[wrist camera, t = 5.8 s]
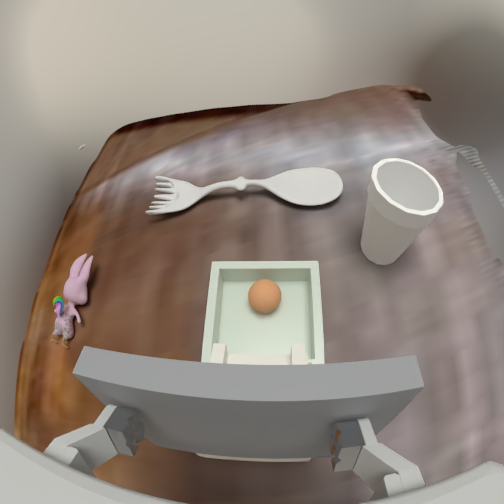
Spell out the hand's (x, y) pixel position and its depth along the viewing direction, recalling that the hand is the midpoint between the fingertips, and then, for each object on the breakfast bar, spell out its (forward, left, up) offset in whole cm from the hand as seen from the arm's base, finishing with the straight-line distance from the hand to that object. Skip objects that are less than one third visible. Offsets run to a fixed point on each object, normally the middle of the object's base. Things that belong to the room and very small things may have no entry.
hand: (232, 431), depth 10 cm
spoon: (+3, -34, -22) cm, 41 cm away
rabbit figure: (+28, -13, -22) cm, 38 cm away
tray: (0, -12, -21) cm, 25 cm away
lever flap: (0, -1, -11) cm, 11 cm away
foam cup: (-17, -23, -21) cm, 36 cm away
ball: (0, -15, -19) cm, 24 cm away
